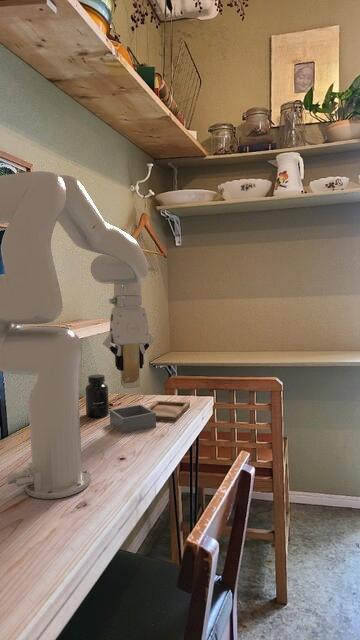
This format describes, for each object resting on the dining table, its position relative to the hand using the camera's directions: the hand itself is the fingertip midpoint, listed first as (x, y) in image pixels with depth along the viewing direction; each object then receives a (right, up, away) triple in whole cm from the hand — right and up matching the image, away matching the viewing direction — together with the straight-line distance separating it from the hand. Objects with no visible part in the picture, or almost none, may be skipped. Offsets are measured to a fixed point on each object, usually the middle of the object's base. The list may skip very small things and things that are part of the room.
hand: (129, 368), depth 121 cm
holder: (+1, -16, +2) cm, 16 cm away
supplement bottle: (-11, -16, +13) cm, 23 cm away
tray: (+9, -15, +13) cm, 22 cm away
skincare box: (0, -5, 0) cm, 5 cm away
